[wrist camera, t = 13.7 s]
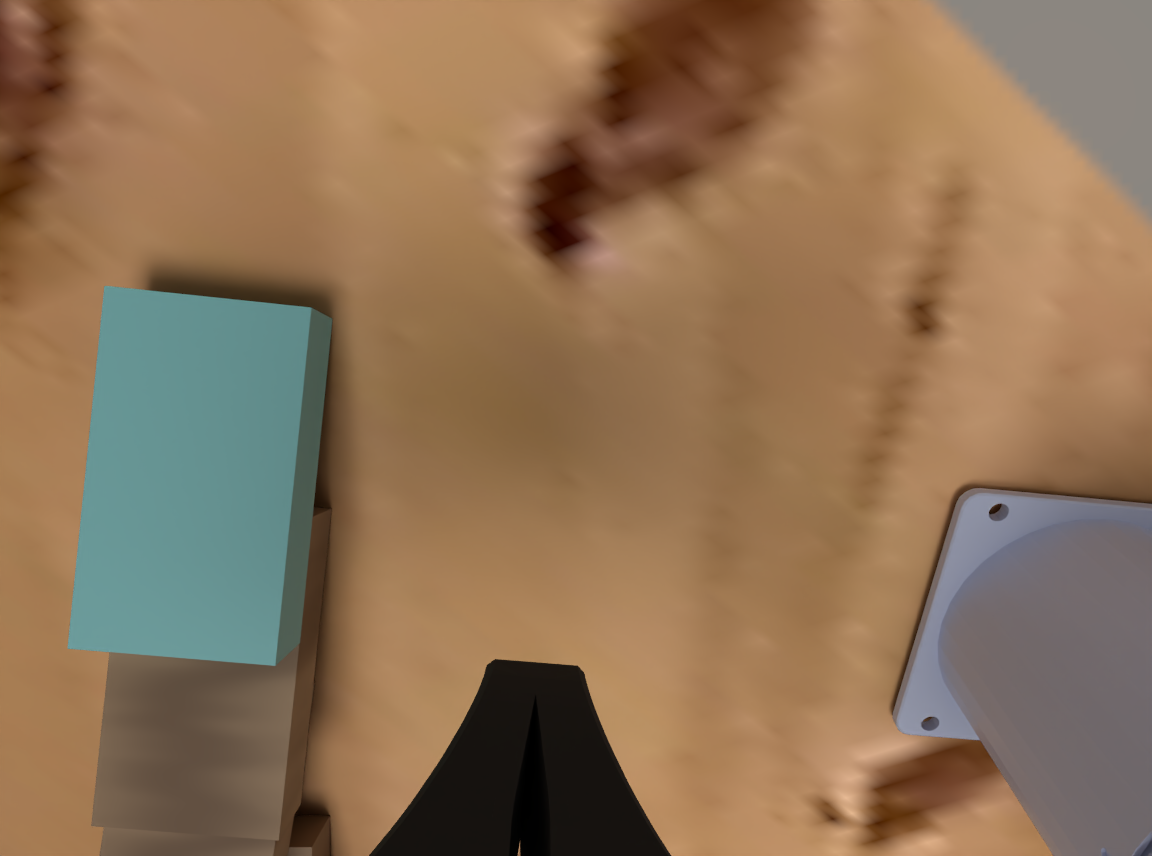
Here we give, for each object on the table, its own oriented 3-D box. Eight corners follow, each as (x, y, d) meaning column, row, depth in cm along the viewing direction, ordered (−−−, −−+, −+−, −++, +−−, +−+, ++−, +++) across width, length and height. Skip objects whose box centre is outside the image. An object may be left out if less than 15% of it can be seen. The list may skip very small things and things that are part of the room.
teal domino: (311, 307, 19) (275, 665, 19) (332, 319, 21) (299, 643, 21) (104, 285, 19) (67, 648, 19) (146, 299, 21) (112, 627, 21)
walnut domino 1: (312, 516, 21) (278, 840, 21) (331, 508, 23) (300, 804, 23) (125, 498, 21) (91, 826, 21) (161, 491, 23) (129, 790, 23)
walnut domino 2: (296, 704, 23) (250, 997, 23) (315, 681, 25) (272, 951, 25) (127, 681, 23) (80, 977, 23) (159, 660, 25) (116, 932, 25)
